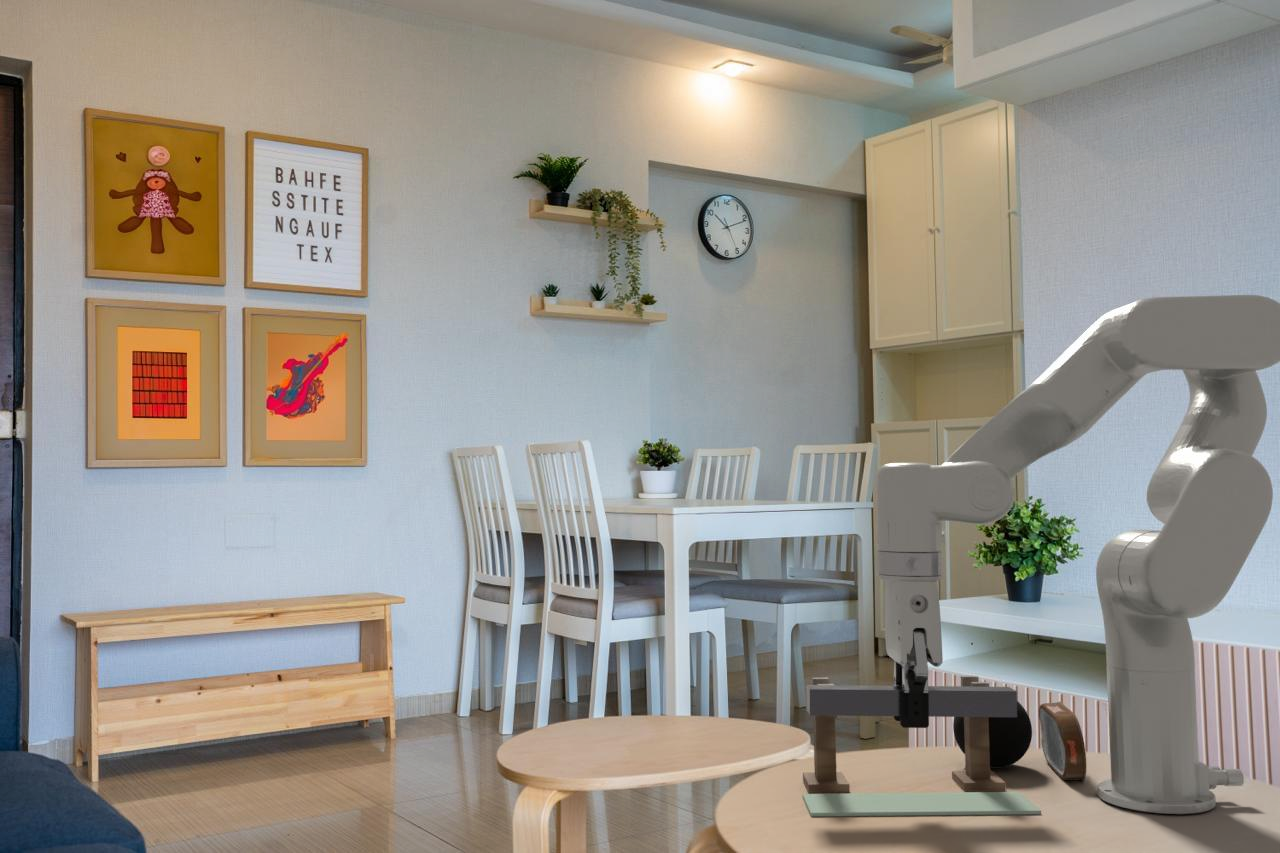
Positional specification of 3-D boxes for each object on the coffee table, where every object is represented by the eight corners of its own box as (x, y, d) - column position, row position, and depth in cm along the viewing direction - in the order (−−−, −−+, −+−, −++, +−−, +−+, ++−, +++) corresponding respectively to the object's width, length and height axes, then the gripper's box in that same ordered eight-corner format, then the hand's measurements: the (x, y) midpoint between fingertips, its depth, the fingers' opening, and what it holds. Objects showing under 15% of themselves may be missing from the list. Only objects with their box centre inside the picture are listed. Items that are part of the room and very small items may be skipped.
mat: (1019, 795, 134) (1018, 791, 134) (1041, 814, 126) (1041, 810, 126) (802, 797, 135) (802, 794, 135) (811, 816, 127) (810, 812, 127)
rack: (991, 778, 142) (987, 675, 143) (1005, 790, 136) (1001, 683, 137) (802, 780, 143) (800, 677, 144) (808, 792, 137) (806, 685, 138)
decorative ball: (1021, 758, 153) (1019, 684, 154) (1043, 776, 143) (1039, 697, 144) (947, 758, 154) (945, 684, 154) (963, 776, 144) (961, 697, 144)
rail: (1009, 712, 133) (1008, 686, 133) (1017, 717, 130) (1016, 691, 130) (806, 710, 133) (806, 684, 133) (809, 715, 130) (809, 689, 130)
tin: (1089, 787, 137) (1086, 718, 138) (1063, 787, 138) (1060, 718, 138) (1061, 758, 152) (1059, 696, 153) (1037, 758, 153) (1035, 696, 153)
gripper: (959, 571, 124) (961, 739, 123) (925, 562, 140) (927, 710, 139) (891, 571, 124) (892, 738, 123) (865, 562, 141) (866, 710, 140)
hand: (911, 722), depth 131 cm, fingers closed on rail, 3 cm apart
